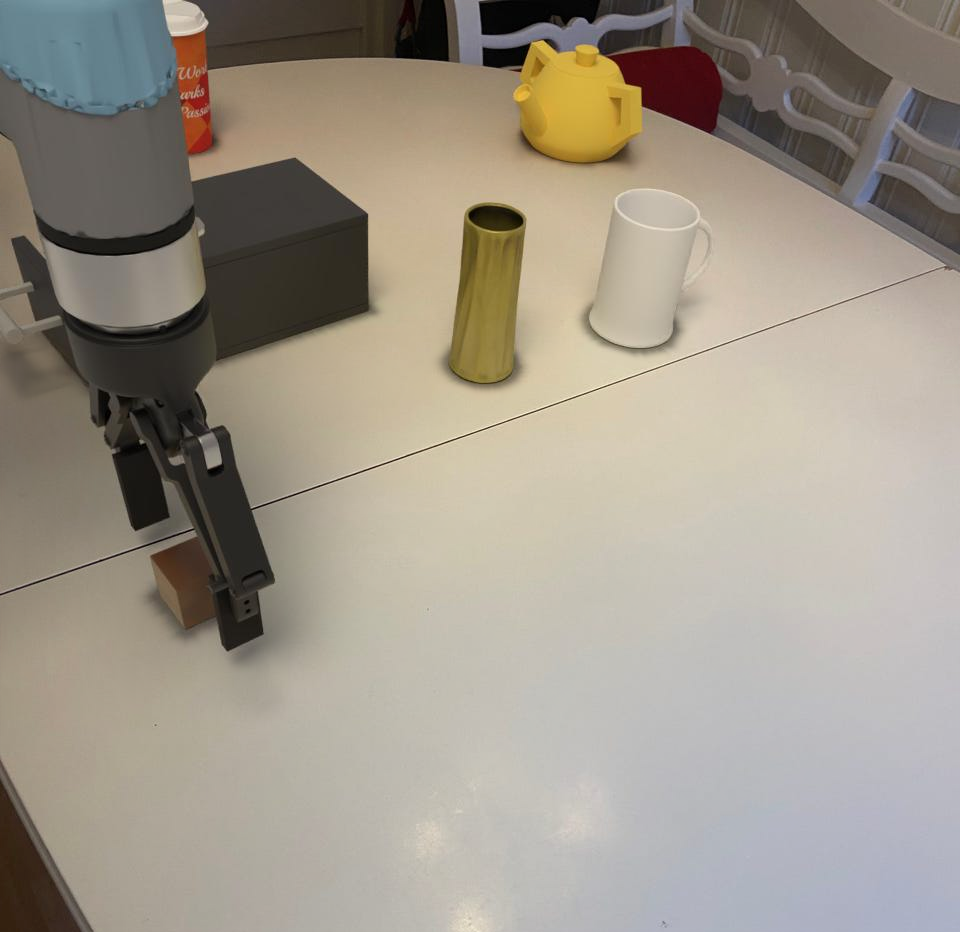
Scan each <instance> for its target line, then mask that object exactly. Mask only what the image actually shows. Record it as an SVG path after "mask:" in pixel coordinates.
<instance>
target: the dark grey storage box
mask: <svg viewBox="0 0 960 932" xmlns="http://www.w3.org/2000/svg"><path fill="white" fill-rule="evenodd" d="M191 182H192V190H193V197H194V208H195V214H196V217H198V218H200V220H201V221H202V222H203V223H204V227H205V232H204V234H203V235H201V236H200V237H199V242H200V248H201V255H202V262H203V268H204V275H205V283H206V289H205V293H206V295H207V297H208V299H209V302H210V309H211V315H212V322H213V329H214V335H215V342H216V351H217V352H216V359H215V361H219V360H222V359H225V358H227V357H230V356H234V355H236V354H240V353H243V352H246V351H249V350H252V349H254V348H255V349H256V348H258V347H261V346H264V345H267V344H270V343H273V342H277V341H280V340H282V339H286V338H288V337H289V338H290V337H292V336H295V335H298V334H301V333H304V332H307V331H310V330H313V329H316V328H319V327H322V326H326V325H328V324H332V323H335V322H338V321H341V320H344V319H346V318H350V317H353V316H357V315H359V314H362V313H366V312H368V311H369V310H370V309H369V307H370V305H369V304H370V303H369V300H370V299H369V296H370V295H369V213H368V212H367V211H365V210H364V209H363V208H362V207H360V206H359V205H358V204H356V202H354V201H352V200H351V199H350V198H348V197H347V196H346V195H345V194H343V193H342V192H341V191H340V190H338V189H337V188H336V187H334V186H333V185H332V184H331V183H329V182H328V181H327V180H326V179H324V178H323V177H322V176H320V175H319V174H317V172H315V171H313V170H312V169H311V168H310V167H308V165H306V164H305V163H303V162H302V161H301V160H299V158H297V157H291V158H286V159H281V160H278V161H277V160H276V161H273V162H269V163H265V164H260V165H256V166H251V167H247V168H242V169H239V170H235V171H231V172H225V173H221V174H216V175H214V176H208V177H203V178H200V179H195V180H191Z"/></svg>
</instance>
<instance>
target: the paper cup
mask: <svg viewBox="0 0 960 932" xmlns="http://www.w3.org/2000/svg"><path fill="white" fill-rule="evenodd" d="M162 1H163V6H164V11H165V16H166V21H167V26H168V30H169V32H170V34H171V36H172V38H173V44H174V48H175V49H176V55H177V66H178V69H177V77H178V85H179V92H180V100H181V107H182V115H183V122H184V130H185V137H186V145H187V152H188V154H196V153H202V152H205V151H207V150H209V149H210V148H211V147H212V145H213V132H212V131H213V129H212V114H211V112H212V111H211V97H210V84H209V83H210V82H209V70H208V69H209V68H208V56H207V55H208V54H207V42H206V40H207V39H206V28H207V27H208V25H209V20H208V19H207V18H206V17H205V13H204V12H203V11H202V10H201V8H200V7H199V6H198V5H197V4H195V3H192V2H190V1H187V0H162Z"/></svg>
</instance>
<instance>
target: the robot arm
mask: <svg viewBox="0 0 960 932" xmlns="http://www.w3.org/2000/svg"><path fill="white" fill-rule="evenodd" d="M177 69H178V66H177V55H176V49H175V48H174V44H173V38H172V36H171V34H170V32H169V30H168V26H167V21H166V16H165V11H164V6H163V1H162V0H0V135H1V136H3V138H6V139H7V140H9V141H10V142H11V143H12V145H13V147H14V149H15V151H16V155H17V158H18V162H19V166H20V168H21V169H20V170H21V171H22V172H21V173H22V175H23V179H24V182H25V185H26V188H27V192H28V196H29V199H30V201H31V206H32V211H33V215H34V218H35V226H36V229H37V233H38V236H39V240H40V243H41V247H42V251H43V254H44V258H45V259H46V262H47V266H48V269H49V273H50V277H51V280H52V284H53V288H54V291H55V295H56V297H57V299H58V302H59V304H60V305H61V306H62V307H63V319H64V323H65V326H66V330H67V333H68V337H69V341H70V344H71V348H72V351H73V355H74V359H75V362H76V365H77V368H78V370H79V372H80V373H81V374H82V376H83V377H84V378H85V379H86V380H87V381H88V382H89V386H88V390H89V392H88V393H89V395H88V397H89V415H90V421H91V422H92V424H94V425H95V427H96V428H97V429H99V428H103V427H104V428H105V429H104V431H103V439H104V443H105V445H106V446H107V447H108V448H109V449H110V450H115V452H114V453H112V454H111V457H112V461H113V465H114V469H115V472H116V476H117V480H118V483H119V487H120V491H121V495H122V498H123V502H124V507H125V510H126V513H127V517H128V520H129V524H130V527H131V528H132V529H133V530H134V532H138V531H140V530H143V529H146V528H148V527H150V526H153V525H156V524H158V523H160V522H163V521H166V520H168V519H169V518H171V515H170V510H169V506H168V502H167V497H166V492H165V488H164V484H163V481H165V482H167V483H171V484H173V486H174V488H175V490H176V492H177V495H178V497H179V499H180V501H181V503H182V506H183V507H184V509H185V512H186V515H187V517H188V519H189V521H190V523H191V526H192V528H193V530H194V533H195V535H196V536H197V537H198V539H199V541H200V544H201V546H202V548H203V550H204V553H205V555H206V557H207V559H208V562H209V564H210V566H211V568H212V570H213V574H211V575H209V576H208V577H209V582H210V583H208V584H206V587H207V589H208V591H209V592H210V593H211V594H212V598H213V603H214V608H215V613H216V616H215V618H216V623H217V627H218V633H219V637H220V638H219V639H220V643H221V646H222V647H223V649H224V650H225V651H226V652H230V651H233V650H234V649H236V648H238V647H240V646H242V645H244V644H247V643H249V642H251V641H253V640H255V639H257V638H259V637H261V636H264V635H265V632H264V626H263V619H262V611H261V605H260V603H261V602H260V597H259V591H261V590H263V589H265V588H267V587H270V586H271V585H274V584H275V583H276V578H275V574H274V571H273V570H272V569H273V568H272V567H271V564H270V560H269V557H268V554H267V552H266V548H265V545H264V543H263V540H262V537H261V534H260V531H259V528H258V525H257V522H256V520H255V516H254V514H253V513H254V512H253V510H252V508H251V505H250V502H249V498H248V496H247V493H246V490H245V487H244V485H243V480H242V479H241V475H240V473H239V469H238V466H237V462H236V455H235V451H234V447H233V442H232V435H231V433H230V431H229V430H228V429H227V428H226V426H225V425H224V424H220V425H218V426H215V427H213V428H210V427H209V425H208V421H207V417H208V413H207V409H206V407H205V404H204V403H203V399H202V397H201V396H200V394H199V392H198V391H197V388H198V386H199V385H200V384H201V382H202V381H203V380H204V378H205V377H206V376H207V375H208V373H209V372H210V371H211V369H212V368H213V366H214V365H215V362H216V360H215V359H216V352H217V351H216V342H215V335H214V329H213V322H212V315H211V309H210V302H209V299H208V297H207V295H206V293H205V289H206V283H205V275H204V268H203V262H202V255H201V248H200V242H199V237H200V236H201V235H203V234H204V232H205V227H204V223H203V222H202V221H201V220H200V218H198V217H196V214H195V208H194V197H193V190H192V182H191V181H192V175H191V169H190V160H189V153H188V152H187V145H186V137H185V130H184V122H183V115H182V107H181V100H180V92H179V85H178V77H177ZM140 440H141V441H143V443H141V441H140ZM178 456H180V460H181V462H182V463H180V464H175V465H174V464H172V463H171V461H170V459H172V458H175V457H178Z"/></svg>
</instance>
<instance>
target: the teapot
mask: <svg viewBox="0 0 960 932" xmlns="http://www.w3.org/2000/svg"><path fill="white" fill-rule="evenodd" d="M574 48H575V49H574V51H572V50H571V51H564V52H560V53H558V52H557V51H556V50H555V49H554V48H553V47H551V46H550V45H549V44H548V43H547V42H545V40H543V39H542V40H538V41H533V42H531V43H530V45H529V49H528V51H527V55H526V57H525V60H524V63H523V66H522V68H521V72H520V74H519V79H520V81H521V84H522V85H519V86H518V87H517V88H516V89H515V90H514V92H513V100H514V101H515V103H516V105H517V106H518V108H519V110H520V116H519V125H520V128H521V131H522V133H523V135H524V136H525V138H526V140H527V141H528V142H529V144H530V145H531V146H532V147H533V149H535V150H536V151H538V152H539V153H541V154H543V155H545V156H547V157H550V158H552V159H556V160H560V161H565V162H569V163H570V162H571V163H578V164H579V163H581V164H582V163H583V164H586V163H587V164H588V163H597V162H602V161H605V160H608V159H610V158H612V157H614V156H615V155H616V154H617V153H618V152H619V151H620V150H622V149H623V148H624V147H625V146H626V145H627V144H628V142H629V141H630V140H632V139H633V138H635V137H637V135H640V134H641V133H642V132H643V112H642V111H643V110H642V108H643V107H642V106H643V105H642V87H640V86H636V85H631V84H626V82H625V79H624V75H623V74H622V71H621V70H620V67H619V65H618V64H617V63H616V62H615V61H613V60H612V59H610V58H608V57H607V56H604V55H601V54H599V53H600V50H599V48H598V47H596V46H594V45H591V44H584V43H583V44H579V45H576V46H575V47H574Z"/></svg>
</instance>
